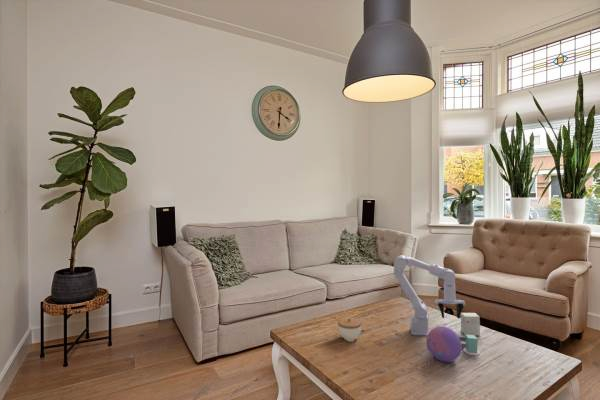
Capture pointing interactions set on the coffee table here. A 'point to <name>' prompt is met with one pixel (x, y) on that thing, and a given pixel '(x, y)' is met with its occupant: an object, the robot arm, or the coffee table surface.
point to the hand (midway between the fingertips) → (450, 317)
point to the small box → (470, 324)
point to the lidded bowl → (349, 328)
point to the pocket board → (462, 338)
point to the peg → (471, 343)
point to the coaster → (471, 353)
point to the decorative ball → (443, 344)
